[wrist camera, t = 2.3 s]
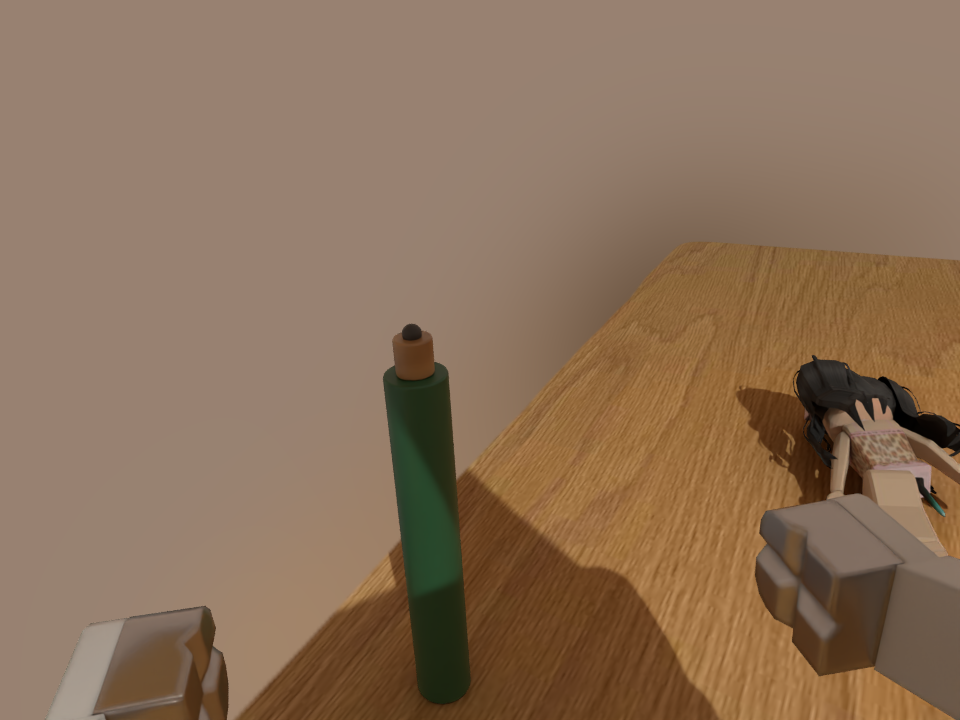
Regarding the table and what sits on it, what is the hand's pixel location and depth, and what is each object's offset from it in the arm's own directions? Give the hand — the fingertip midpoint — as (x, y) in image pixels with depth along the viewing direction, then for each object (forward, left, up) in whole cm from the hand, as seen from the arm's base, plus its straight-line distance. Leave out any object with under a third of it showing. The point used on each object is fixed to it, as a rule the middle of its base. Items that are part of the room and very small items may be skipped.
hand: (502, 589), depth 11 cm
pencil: (0, +12, -15) cm, 19 cm away
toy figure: (+23, +19, -15) cm, 33 cm away
